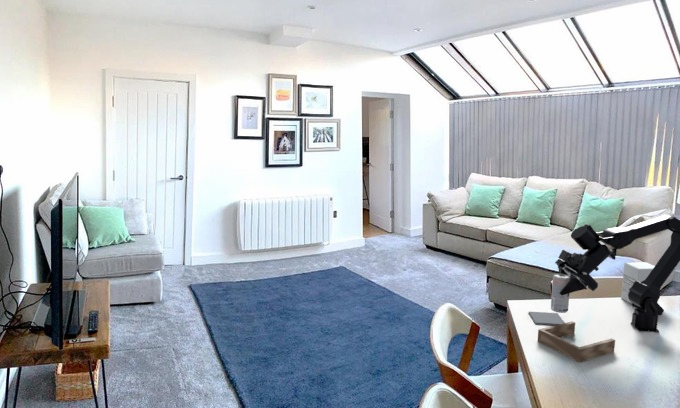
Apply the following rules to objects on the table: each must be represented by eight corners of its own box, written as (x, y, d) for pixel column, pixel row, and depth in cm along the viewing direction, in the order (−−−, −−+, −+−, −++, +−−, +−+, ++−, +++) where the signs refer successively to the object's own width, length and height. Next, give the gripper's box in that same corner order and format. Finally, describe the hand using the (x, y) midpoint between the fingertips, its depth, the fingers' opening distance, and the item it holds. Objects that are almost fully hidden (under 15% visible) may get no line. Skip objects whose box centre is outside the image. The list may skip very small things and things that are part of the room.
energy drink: (568, 308, 164) (571, 274, 163) (567, 314, 160) (570, 279, 158) (551, 306, 167) (553, 272, 165) (549, 311, 162) (552, 276, 160)
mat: (557, 314, 177) (557, 313, 177) (565, 325, 167) (565, 324, 167) (528, 313, 178) (528, 311, 178) (535, 324, 169) (535, 322, 168)
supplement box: (641, 297, 194) (645, 261, 192) (657, 306, 186) (662, 268, 183) (620, 298, 194) (623, 261, 191) (634, 306, 185) (639, 268, 182)
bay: (571, 332, 162) (572, 321, 161) (613, 352, 148) (615, 339, 147) (537, 341, 156) (538, 329, 155) (578, 362, 142) (580, 349, 141)
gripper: (562, 235, 169) (529, 266, 170) (591, 249, 151) (553, 284, 152) (583, 257, 170) (550, 288, 172) (614, 273, 152) (576, 308, 154)
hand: (556, 291), depth 162 cm, fingers closed on energy drink, 5 cm apart
